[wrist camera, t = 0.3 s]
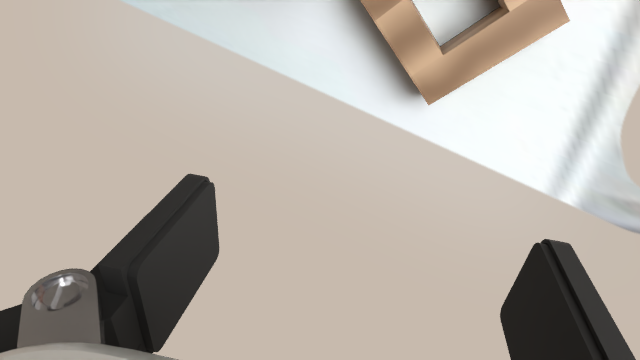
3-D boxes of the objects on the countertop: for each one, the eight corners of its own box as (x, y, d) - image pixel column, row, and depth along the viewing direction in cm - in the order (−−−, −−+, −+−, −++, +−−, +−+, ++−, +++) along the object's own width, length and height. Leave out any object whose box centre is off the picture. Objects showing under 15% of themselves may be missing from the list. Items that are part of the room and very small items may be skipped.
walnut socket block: (356, -15, 39) (352, -13, 36) (488, -126, 33) (497, -135, 29) (426, 93, 43) (428, 105, 40) (554, 14, 37) (569, 20, 34)
